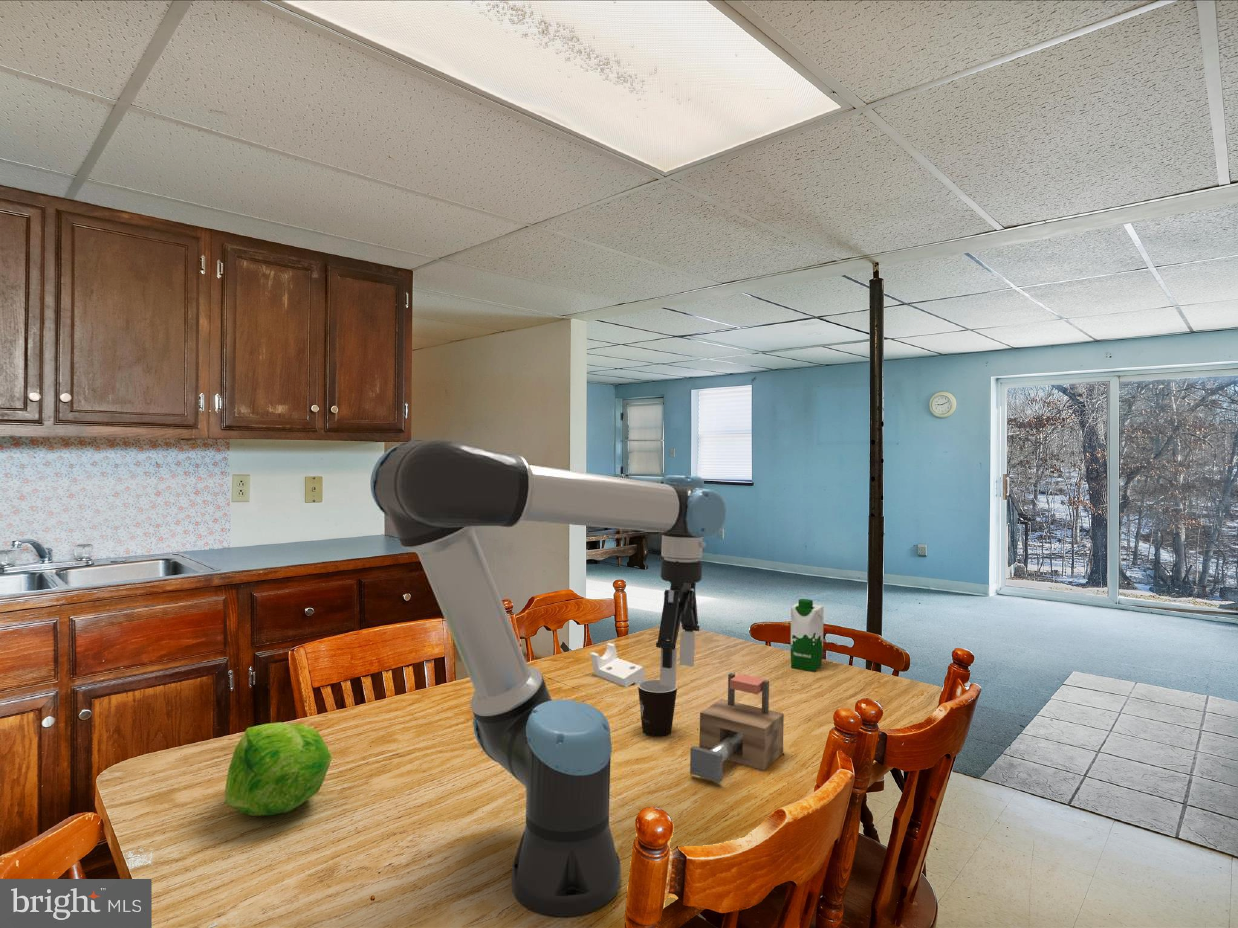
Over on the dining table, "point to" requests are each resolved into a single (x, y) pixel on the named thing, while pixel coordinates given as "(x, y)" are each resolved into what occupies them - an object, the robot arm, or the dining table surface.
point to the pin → (714, 757)
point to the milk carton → (806, 635)
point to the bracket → (616, 668)
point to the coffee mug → (656, 707)
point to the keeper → (747, 683)
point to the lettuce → (276, 768)
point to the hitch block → (744, 728)
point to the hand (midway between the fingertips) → (677, 674)
